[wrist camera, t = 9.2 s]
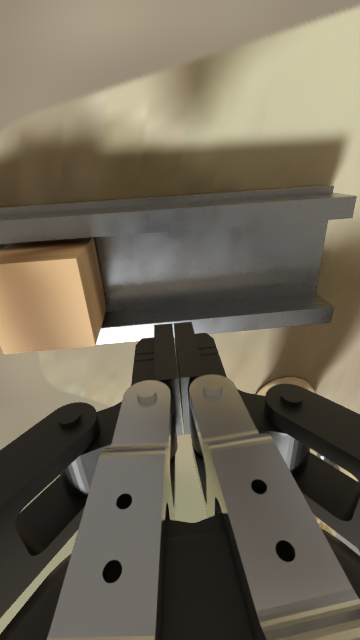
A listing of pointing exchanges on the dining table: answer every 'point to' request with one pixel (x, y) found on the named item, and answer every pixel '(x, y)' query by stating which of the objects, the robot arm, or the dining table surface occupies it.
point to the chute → (198, 256)
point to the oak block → (50, 295)
